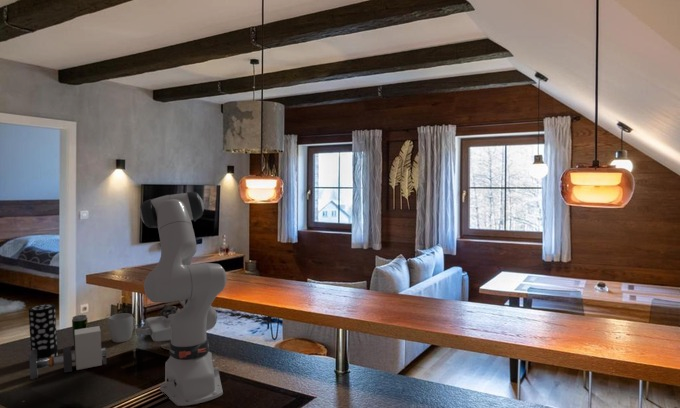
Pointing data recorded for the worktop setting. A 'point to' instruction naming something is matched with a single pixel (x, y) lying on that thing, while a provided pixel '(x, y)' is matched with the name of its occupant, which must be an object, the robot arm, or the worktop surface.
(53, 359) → the pipe
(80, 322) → the beer can
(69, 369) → the charcoal grey box
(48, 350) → the white-spotted black cylinder
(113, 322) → the mug
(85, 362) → the notched block
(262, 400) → the worktop surface
